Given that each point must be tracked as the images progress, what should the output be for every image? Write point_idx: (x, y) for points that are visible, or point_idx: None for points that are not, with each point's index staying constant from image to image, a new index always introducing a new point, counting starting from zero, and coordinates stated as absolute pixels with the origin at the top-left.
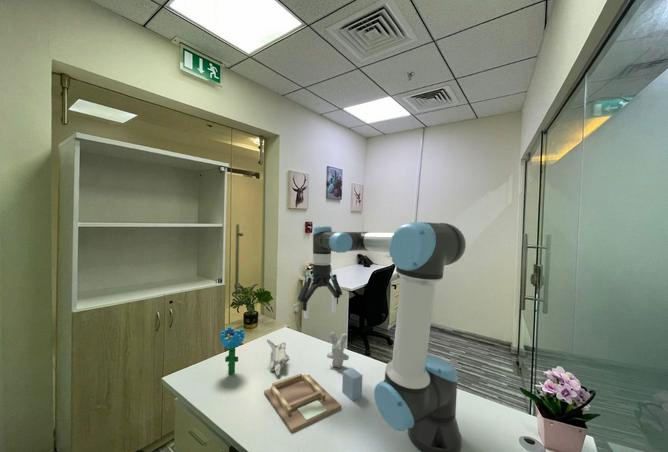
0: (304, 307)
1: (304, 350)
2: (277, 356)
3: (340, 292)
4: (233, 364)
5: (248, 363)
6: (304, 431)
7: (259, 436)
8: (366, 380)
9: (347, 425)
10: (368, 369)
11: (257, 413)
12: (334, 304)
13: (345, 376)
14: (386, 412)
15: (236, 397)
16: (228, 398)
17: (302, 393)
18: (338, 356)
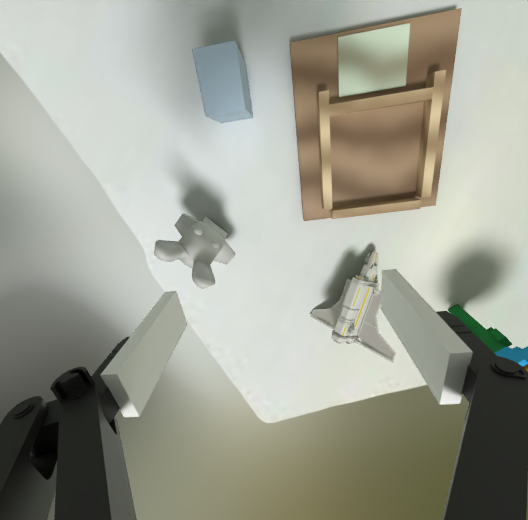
0: (465, 330)
1: (261, 328)
2: (366, 301)
3: (16, 426)
4: (468, 320)
5: None
6: (421, 2)
7: (523, 44)
8: (165, 137)
9: None
10: (138, 182)
11: (481, 136)
12: (153, 336)
13: (244, 93)
14: None
15: (490, 218)
16: (507, 223)
17: (358, 148)
18: (208, 229)
